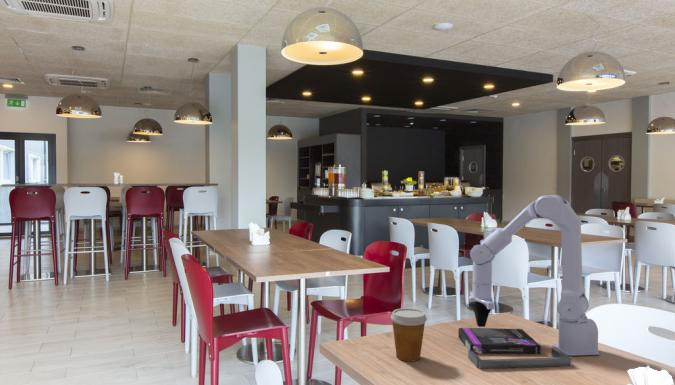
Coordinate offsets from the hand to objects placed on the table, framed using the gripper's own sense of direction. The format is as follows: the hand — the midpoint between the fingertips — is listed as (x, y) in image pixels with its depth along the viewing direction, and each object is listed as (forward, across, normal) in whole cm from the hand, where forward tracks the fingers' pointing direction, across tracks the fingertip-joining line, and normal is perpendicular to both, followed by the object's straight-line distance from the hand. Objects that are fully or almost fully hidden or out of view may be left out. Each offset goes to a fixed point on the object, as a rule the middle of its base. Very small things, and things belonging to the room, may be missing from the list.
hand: (481, 326), depth 149 cm
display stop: (+2, +25, 0) cm, 25 cm away
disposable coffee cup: (+2, +19, -28) cm, 34 cm away
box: (+2, +12, 0) cm, 12 cm away
